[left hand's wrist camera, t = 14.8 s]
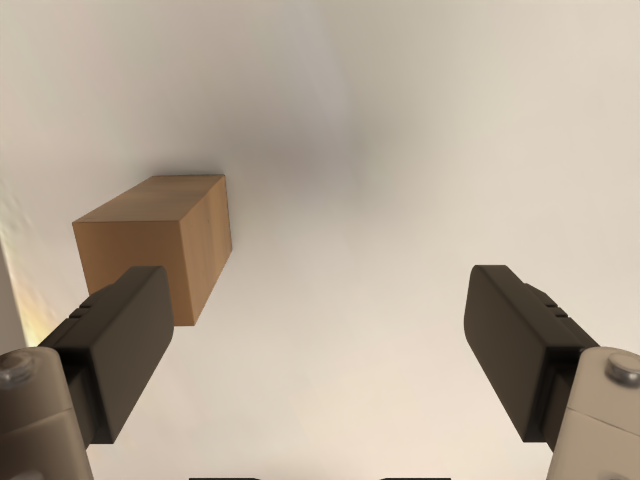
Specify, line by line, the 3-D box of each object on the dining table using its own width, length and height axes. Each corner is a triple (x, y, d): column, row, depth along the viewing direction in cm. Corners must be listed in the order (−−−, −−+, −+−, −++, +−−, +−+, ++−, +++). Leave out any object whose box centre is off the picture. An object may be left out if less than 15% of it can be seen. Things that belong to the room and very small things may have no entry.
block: (164, 252, 28) (96, 328, 19) (152, 175, 26) (70, 222, 17) (232, 251, 28) (194, 326, 19) (224, 174, 26) (179, 220, 17)
